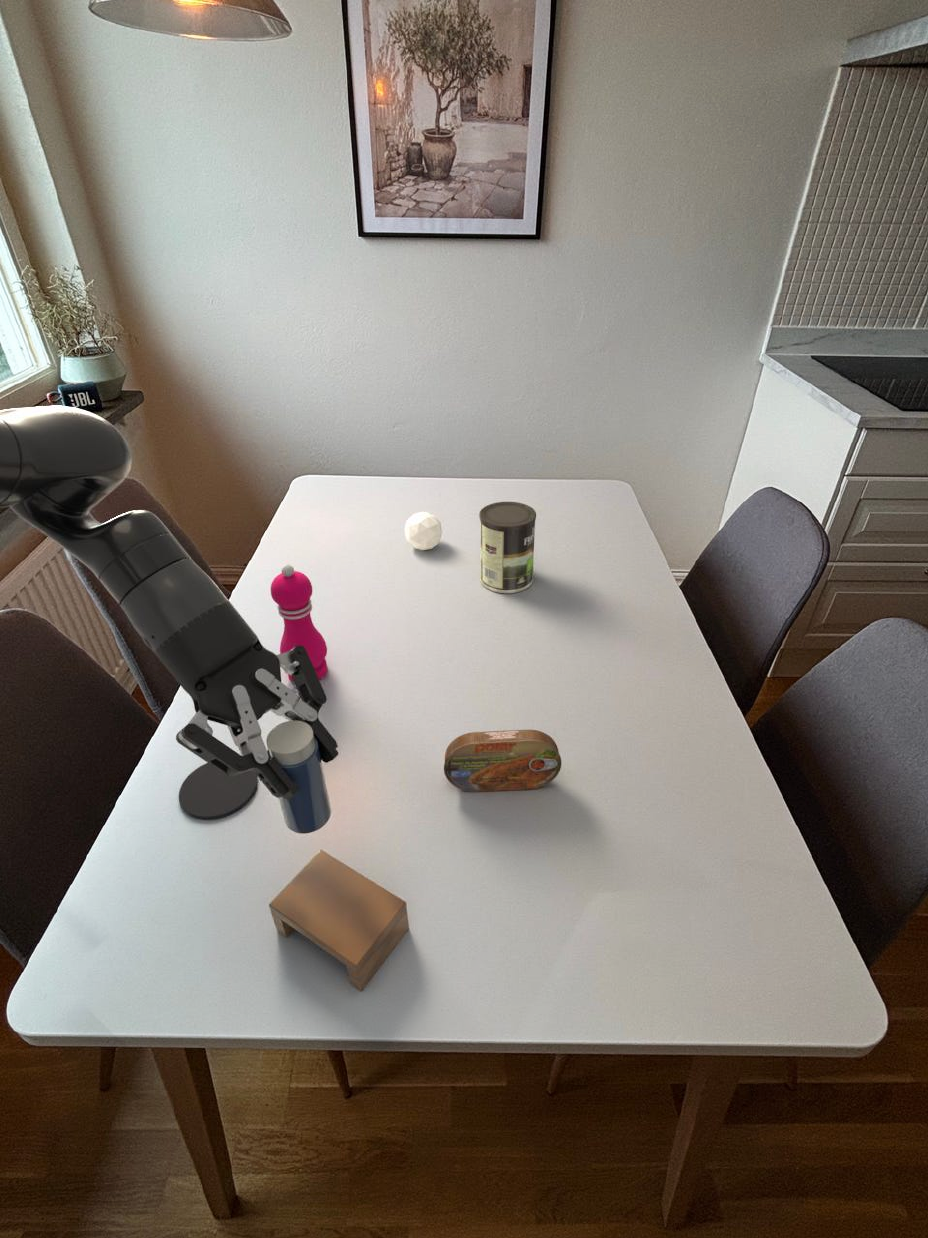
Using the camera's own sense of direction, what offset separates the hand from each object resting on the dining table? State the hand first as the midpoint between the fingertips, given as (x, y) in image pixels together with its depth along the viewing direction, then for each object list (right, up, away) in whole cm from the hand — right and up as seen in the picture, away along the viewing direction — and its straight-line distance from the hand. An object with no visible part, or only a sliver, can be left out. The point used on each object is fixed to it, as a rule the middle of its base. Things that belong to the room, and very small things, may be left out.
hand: (312, 775), depth 60 cm
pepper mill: (-12, +5, +49) cm, 51 cm away
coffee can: (+22, +21, +71) cm, 77 cm away
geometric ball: (+5, +29, +82) cm, 87 cm away
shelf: (0, -20, +13) cm, 24 cm away
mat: (-19, -9, +30) cm, 36 cm away
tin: (+18, -8, +30) cm, 36 cm away
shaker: (-1, -5, +5) cm, 7 cm away
